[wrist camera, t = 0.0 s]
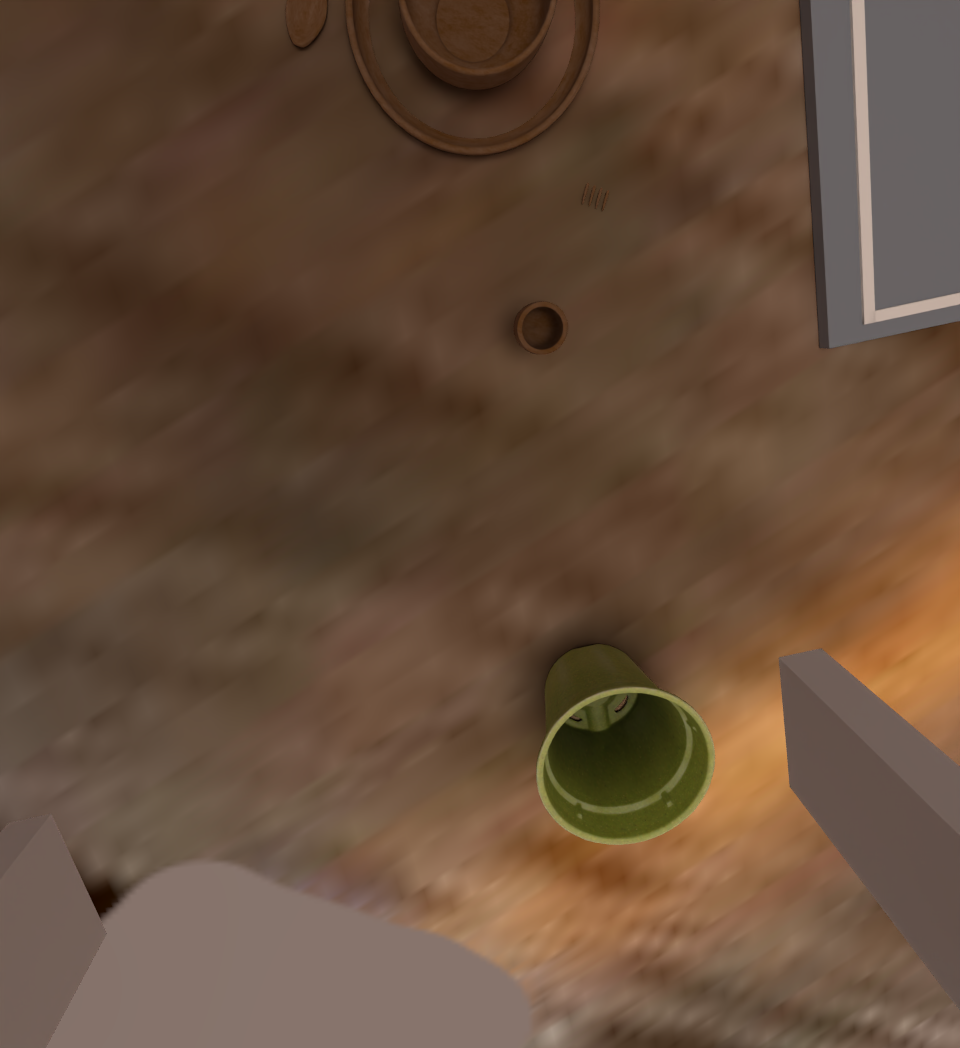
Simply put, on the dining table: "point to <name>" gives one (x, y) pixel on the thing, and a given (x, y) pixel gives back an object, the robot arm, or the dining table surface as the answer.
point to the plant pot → (619, 750)
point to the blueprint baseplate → (883, 164)
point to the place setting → (472, 83)
